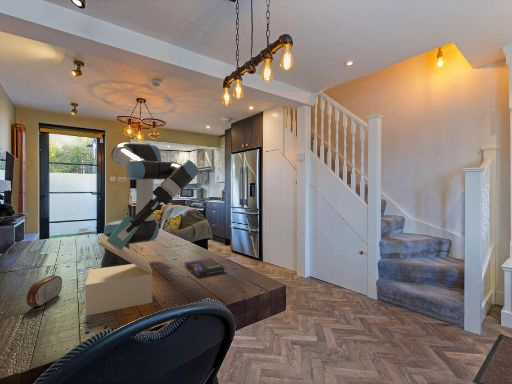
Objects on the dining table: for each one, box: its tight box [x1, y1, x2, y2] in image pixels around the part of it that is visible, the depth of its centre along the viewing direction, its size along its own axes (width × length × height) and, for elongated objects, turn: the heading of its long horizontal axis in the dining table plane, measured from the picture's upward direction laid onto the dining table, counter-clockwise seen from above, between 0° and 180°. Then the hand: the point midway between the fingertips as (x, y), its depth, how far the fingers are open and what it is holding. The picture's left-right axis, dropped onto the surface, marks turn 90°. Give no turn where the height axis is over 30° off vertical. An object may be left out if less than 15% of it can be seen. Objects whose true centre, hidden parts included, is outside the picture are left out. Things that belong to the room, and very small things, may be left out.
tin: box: [26, 274, 63, 308], centre depth 96 cm, size 15×3×8 cm, turn 5°
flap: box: [98, 214, 153, 274], centre depth 100 cm, size 20×18×12 cm
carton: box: [84, 264, 153, 317], centre depth 98 cm, size 20×18×10 cm
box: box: [184, 257, 225, 278], centre depth 132 cm, size 14×4×20 cm
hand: (119, 237), depth 98 cm, fingers closed on flap, 2 cm apart
